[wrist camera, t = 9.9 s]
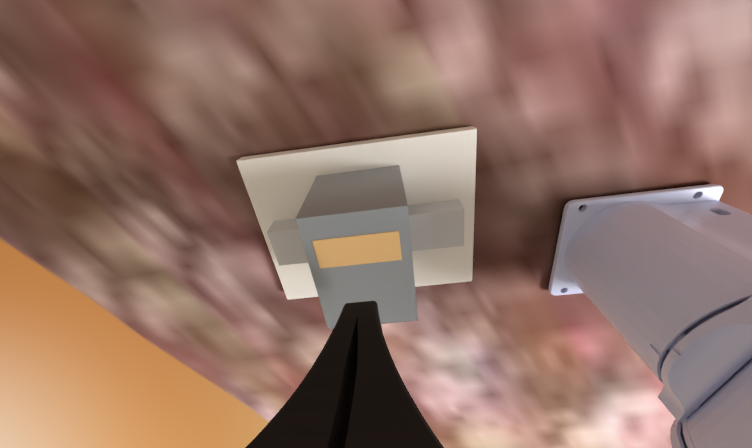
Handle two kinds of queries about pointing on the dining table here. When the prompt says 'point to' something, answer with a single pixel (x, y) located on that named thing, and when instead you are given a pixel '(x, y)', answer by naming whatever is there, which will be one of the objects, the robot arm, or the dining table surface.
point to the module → (360, 243)
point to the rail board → (422, 189)
